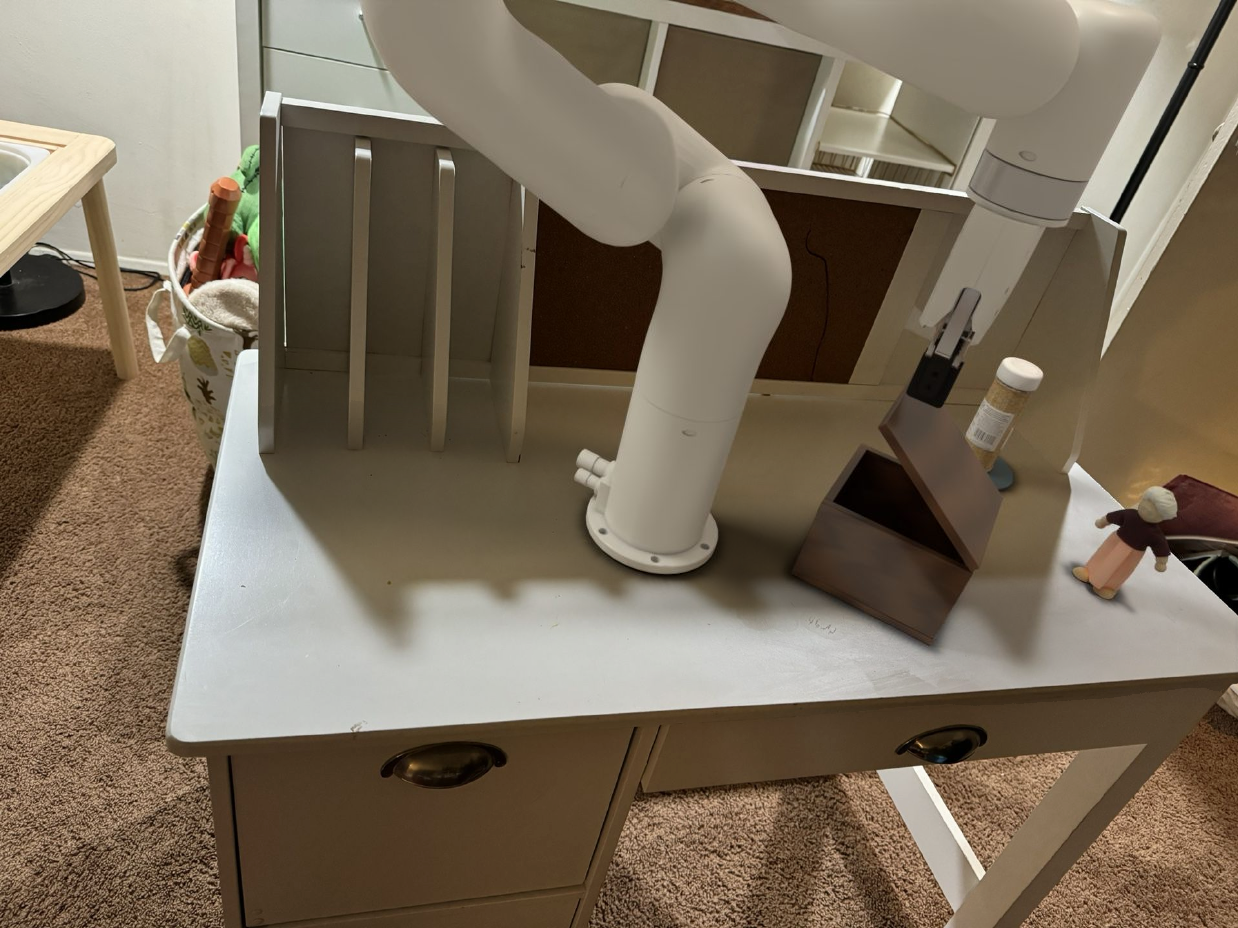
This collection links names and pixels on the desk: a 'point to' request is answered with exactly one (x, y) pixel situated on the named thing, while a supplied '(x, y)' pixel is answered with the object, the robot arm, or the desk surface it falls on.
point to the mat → (1001, 474)
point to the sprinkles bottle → (1002, 408)
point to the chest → (883, 548)
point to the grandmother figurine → (1130, 542)
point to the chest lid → (944, 473)
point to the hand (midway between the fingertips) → (924, 398)
